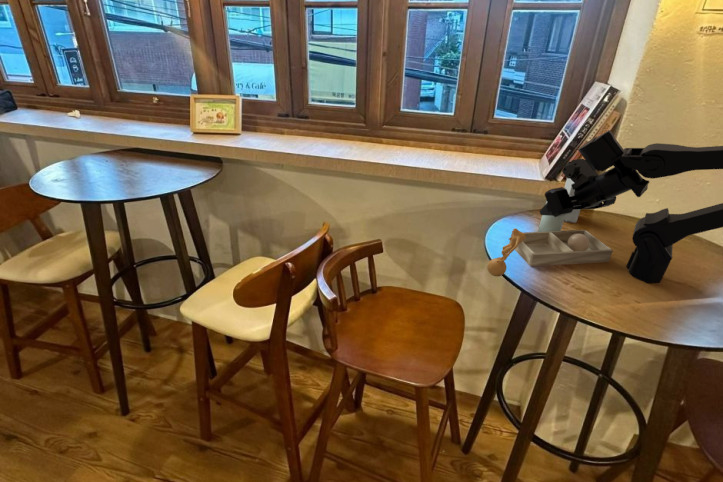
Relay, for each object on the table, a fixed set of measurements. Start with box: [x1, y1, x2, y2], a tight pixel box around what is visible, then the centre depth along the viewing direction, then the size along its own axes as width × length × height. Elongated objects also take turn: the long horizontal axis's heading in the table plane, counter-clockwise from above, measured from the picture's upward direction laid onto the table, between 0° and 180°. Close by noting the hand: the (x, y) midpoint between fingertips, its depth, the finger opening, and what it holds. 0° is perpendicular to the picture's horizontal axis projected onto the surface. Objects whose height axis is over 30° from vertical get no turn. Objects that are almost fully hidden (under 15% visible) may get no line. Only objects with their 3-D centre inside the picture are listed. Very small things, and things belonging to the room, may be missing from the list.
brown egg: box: [568, 234, 589, 251], centre depth 97 cm, size 5×5×5 cm
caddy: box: [508, 229, 614, 267], centre depth 96 cm, size 10×20×4 cm, turn 99°
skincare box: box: [563, 177, 582, 224], centre depth 112 cm, size 6×4×12 cm
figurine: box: [486, 228, 526, 277], centre depth 86 cm, size 8×6×12 cm
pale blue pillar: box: [537, 200, 566, 232], centre depth 103 cm, size 5×5×12 cm
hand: (554, 210), depth 102 cm, fingers open, 9 cm apart
